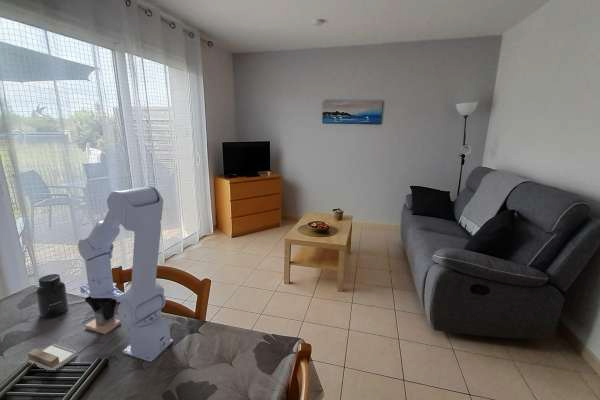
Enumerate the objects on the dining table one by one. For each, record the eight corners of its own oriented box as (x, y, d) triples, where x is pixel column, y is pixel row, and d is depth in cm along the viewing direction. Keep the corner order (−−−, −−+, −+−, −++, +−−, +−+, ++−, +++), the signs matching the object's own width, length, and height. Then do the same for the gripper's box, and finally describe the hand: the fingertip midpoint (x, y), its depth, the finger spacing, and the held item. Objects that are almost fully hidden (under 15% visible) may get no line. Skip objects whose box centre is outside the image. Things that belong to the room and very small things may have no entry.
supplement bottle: (55, 319, 83) (49, 284, 81) (33, 318, 83) (26, 282, 81) (74, 306, 90) (69, 272, 87) (53, 304, 90) (47, 271, 87)
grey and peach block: (122, 322, 83) (120, 307, 82) (105, 334, 78) (103, 319, 77) (102, 316, 85) (101, 302, 84) (85, 328, 80) (82, 313, 79)
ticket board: (76, 355, 71) (75, 345, 70) (52, 372, 66) (50, 361, 65) (54, 347, 73) (52, 338, 72) (29, 363, 68) (27, 353, 67)
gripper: (131, 274, 81) (136, 314, 84) (94, 265, 84) (99, 304, 88) (109, 286, 74) (115, 329, 77) (70, 276, 78) (76, 318, 81)
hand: (105, 317), depth 82 cm, fingers closed on grey and peach block, 2 cm apart
